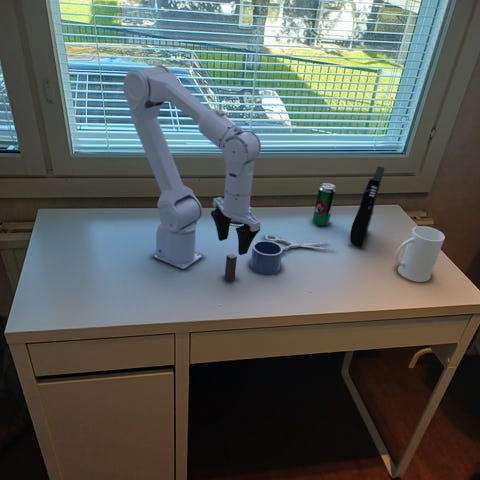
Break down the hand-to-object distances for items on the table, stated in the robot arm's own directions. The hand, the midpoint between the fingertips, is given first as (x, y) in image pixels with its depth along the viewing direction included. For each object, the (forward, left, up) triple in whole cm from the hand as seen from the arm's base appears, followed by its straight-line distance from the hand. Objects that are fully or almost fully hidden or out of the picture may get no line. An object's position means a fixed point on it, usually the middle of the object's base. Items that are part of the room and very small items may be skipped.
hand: (232, 246), depth 111 cm
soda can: (+5, +45, -9) cm, 46 cm away
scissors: (+6, +26, -9) cm, 28 cm away
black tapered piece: (+18, +43, -9) cm, 48 cm away
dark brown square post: (0, 0, -9) cm, 9 cm away
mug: (+36, +33, -9) cm, 50 cm away
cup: (+4, +11, -9) cm, 15 cm away
